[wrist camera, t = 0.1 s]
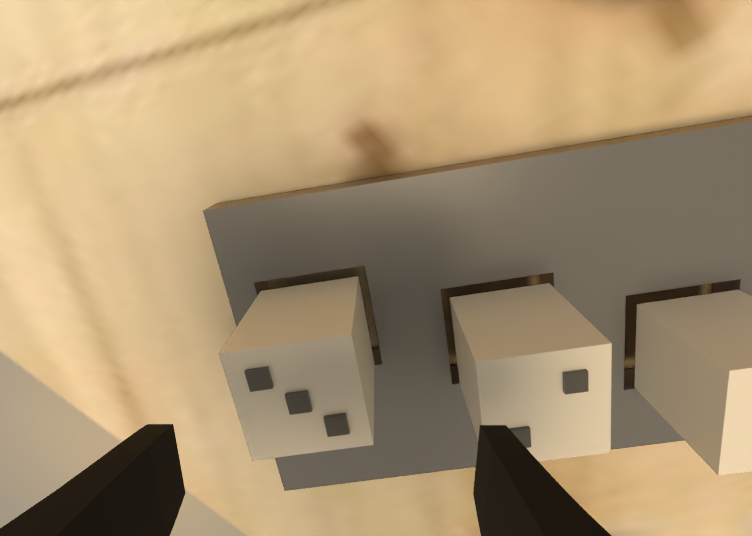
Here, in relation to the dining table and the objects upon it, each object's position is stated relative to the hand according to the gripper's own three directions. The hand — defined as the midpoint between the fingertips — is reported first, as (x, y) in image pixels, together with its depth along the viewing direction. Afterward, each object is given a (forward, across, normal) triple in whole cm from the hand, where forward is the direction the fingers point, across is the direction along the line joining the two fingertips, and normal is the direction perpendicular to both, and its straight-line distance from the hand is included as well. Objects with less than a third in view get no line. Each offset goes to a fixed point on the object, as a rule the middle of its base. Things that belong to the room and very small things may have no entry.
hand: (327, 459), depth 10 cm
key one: (+8, -14, +1) cm, 16 cm away
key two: (+8, -6, +1) cm, 10 cm away
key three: (+8, +1, +1) cm, 8 cm away
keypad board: (+10, -6, +1) cm, 12 cm away
